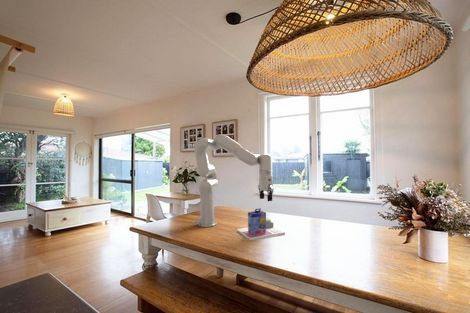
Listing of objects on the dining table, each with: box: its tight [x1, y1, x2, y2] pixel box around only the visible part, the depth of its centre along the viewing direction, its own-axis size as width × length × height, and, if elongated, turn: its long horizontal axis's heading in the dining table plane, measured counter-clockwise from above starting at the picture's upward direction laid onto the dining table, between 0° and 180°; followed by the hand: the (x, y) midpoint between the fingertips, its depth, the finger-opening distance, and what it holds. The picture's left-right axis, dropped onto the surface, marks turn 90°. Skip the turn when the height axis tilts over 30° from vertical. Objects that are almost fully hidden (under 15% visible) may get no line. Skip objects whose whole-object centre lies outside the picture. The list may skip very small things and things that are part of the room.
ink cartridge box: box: [247, 208, 267, 235], centre depth 130 cm, size 10×6×14 cm, turn 115°
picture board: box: [236, 221, 286, 241], centre depth 134 cm, size 23×18×4 cm
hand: (265, 199), depth 142 cm, fingers open, 9 cm apart
